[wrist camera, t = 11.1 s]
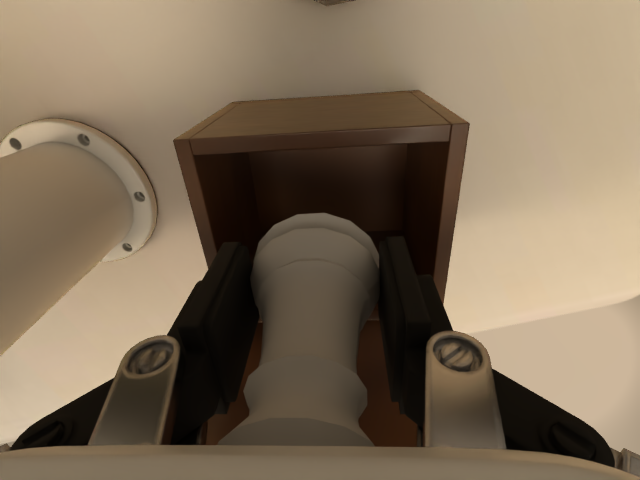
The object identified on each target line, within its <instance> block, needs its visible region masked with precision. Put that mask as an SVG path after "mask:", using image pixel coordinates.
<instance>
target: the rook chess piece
mask: <svg viewBox="0 0 640 480" xmlns="http://www.w3.org/2000/svg"><path fill="white" fill-rule="evenodd" d="M250 282H251V288H252V293H253V297H254V301H255V305H256V306H257V307H258V310H259V315H260V318H261V319H262V321H263V333H262V348H261V358H260V362H259V367H258V368H257V369H256V370H255V371H254V372H253V373H251V374H250V375H249V376H248V379H247V382H246V385H245V388H244V391H243V392H244V395H245V399H246V402H247V406H248V408H249V409H250V410H249V417H247V418H246V419H245V420H244V421H243V422H242V423H240V424H239V425H238V426H237V427H236V428H234V429H233V430H232V431H231V432H230V433H228V434H227V435H226V436H225V437H224V438H223V439H221V440H220V441H219V442H218V445H259V446H366V447H375V446H374V444H373V443H372V442H371V440H370V439H369V438H368V437H367V436H366V434H365V433H364V432H363V431H362V430H361V428H360V427H359V423H358V419H359V417H360V416H361V414H362V413H363V411H364V410H365V408H366V407H367V389H366V387H365V386H364V384H363V383H362V381H361V380H360V378H359V377H358V375H357V367H356V366H357V356H358V347H359V338H360V331H361V330H362V329H363V327H364V325H365V323H366V321H367V319H368V318H369V317H370V315H371V313H372V311H373V309H374V307H375V306H376V304H377V302H378V300H379V296H380V270H379V254H378V252H377V250H376V248H375V246H374V244H373V242H372V240H371V238H370V236H369V235H367V234H366V233H365V232H364V231H362V230H361V229H360V228H359V227H357V226H356V225H355V224H354V223H352V222H351V221H349V220H346V219H343V218H340V217H336V216H333V215H330V214H327V213H313V214H297V215H295V216H293V217H290V218H288V219H286V220H284V221H282V222H279V223H277V224H275V225H274V226H273V227H272V228H271V229H270V230H269V231H268V232H267V233H266V235H265V236H264V237H263V238H262V239H261V240H260V241H259V244H258V247H257V251H256V255H255V258H254V265H253V268H252V272H251V276H250Z"/></svg>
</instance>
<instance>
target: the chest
mask: <svg viewBox="0 0 640 480" xmlns="http://www.w3.org/2000/svg"><path fill="white" fill-rule="evenodd" d="M469 125H470V124H469V123H468V122H467V121H465V120H464V119H462V118H461V117H459V116H458V115H456V114H455V113H453V112H452V111H450V110H449V109H447V108H446V107H444V106H443V105H441V104H440V103H438V102H437V101H435V100H434V99H432V98H431V97H429V96H428V95H426V94H425V93H423V92H422V91H420V90H414V91H399V92H383V93H367V94H351V95H336V96H320V97H304V98H289V99H273V100H257V101H241V102H232V103H230V104H229V105H227V106H226V107H224V108H223V109H221V110H219V111H218V112H216V113H215V114H213V115H212V116H210V117H208V118H207V119H205V120H204V121H202V122H201V123H199V124H198V125H196V126H194V127H193V128H191V129H190V130H188V131H187V132H185V133H183V134H182V135H180V136H179V137H177V138H176V139H174V140H173V142H174V146H175V149H176V153H177V157H178V160H179V164H180V167H181V171H182V175H183V178H184V182H185V186H186V189H187V193H188V197H189V200H190V204H191V207H192V211H193V215H194V218H195V222H196V226H197V229H198V233H199V237H200V240H201V244H202V247H203V251H204V255H205V258H206V262H207V266H208V269H209V267H210V266H211V264H212V262H213V260H214V258H215V256H216V255H217V253H218V251H219V249H220V247H221V246H222V244H223V243H224V242H241V243H242V245H243V246H247V247H248V250H249V255H250V260H251V265H252V268H253V265H254V258H255V255H256V251H257V247H258V244H259V241H260V240H261V239H262V238H263V237H264V236H265V235H266V233H267V232H268V231H269V230H270V229H271V228H272V227H273V226H274V225H275V224H277V223H279V222H282V221H284V220H286V219H288V218H290V217H293V216H295V215H297V214H313V213H327V214H330V215H333V216H336V217H340V218H343V219H346V220H349V221H351V222H352V223H354V224H355V225H356V226H357V227H359V228H360V229H361V230H362V231H364V232H365V233H366V234H367V235H369V236H370V238H371V240H372V242H373V244H374V246H375V248H376V250H377V252H378V254H379V244H380V241H385V240H386V237H394V236H403V237H404V239H405V242H406V246H407V249H408V252H409V255H410V258H411V261H412V264H413V267H414V270H415V273H416V275H431V276H432V278H433V280H434V283H435V285H436V288H437V291H438V293H439V296H440V298H441V301H442V303H444V296H445V289H446V282H447V275H448V268H449V262H450V255H451V248H452V241H453V234H454V227H455V220H456V214H457V207H458V200H459V193H460V186H461V179H462V173H463V166H464V159H465V152H466V145H467V138H468V131H469ZM367 320H379V314H378V302H377V304H376V306H375V307H374V309H373V311H372V313H371V315H370V317H369V318H368V319H367ZM258 322H263V321H262V319H261V318H260V316H259V320H258Z"/></svg>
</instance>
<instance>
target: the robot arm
mask: <svg viewBox="0 0 640 480" xmlns="http://www.w3.org/2000/svg"><path fill="white" fill-rule="evenodd" d="M156 218H157V205H156V199H155V195H154V192H153V188H152V186H151V184H150V182H149V180H148V178H147V176H146V174H145V173H144V171H143V170H142V168H141V167H140V165H139V164H138V163H137V161H136V160H135V159H134V158H133V157H132V156H131V155H130V154H129V153H128V152H127V151H126V150H125V149H124V148H123V147H122V146H121V145H119V144H118V143H117V142H116V141H114V140H113V139H112V138H110V137H108V136H107V135H105V134H103V133H102V132H100V131H98V130H97V129H94V128H92V127H89V126H87V125H85V124H82V123H79V122H75V121H70V120H66V119H50V118H48V119H43V120H37V121H33V122H30V123H27V124H24V125H20V126H19V127H17V128H16V129H14V130H12V131H11V132H9V133H8V135H7V136H6V137H5V138H4V139H3V140H2V142H1V144H0V356H1V355H2V354H3V353H4V352H5V351H6V350H7V349H8V348H9V347H11V346H12V345H13V344H14V343H15V342H16V341H17V340H18V339H19V338H20V337H21V336H22V335H23V334H24V333H25V332H26V331H27V330H28V329H29V328H30V327H32V326H33V325H34V324H35V323H36V322H37V321H38V320H39V319H40V318H41V317H42V316H43V315H44V314H45V313H46V312H47V311H48V310H49V309H50V308H51V307H52V306H54V305H55V304H56V303H57V302H58V301H59V300H60V299H61V298H62V297H63V296H64V295H65V294H66V293H67V292H68V291H69V290H70V289H71V288H72V287H73V286H75V285H76V284H77V283H78V282H79V281H80V280H81V279H82V278H83V277H84V276H85V275H86V274H87V273H88V272H89V271H90V270H91V269H92V268H93V267H94V266H96V265H97V264H98V263H99V262H109V261H117V260H120V259H123V258H126V257H128V256H130V255H132V254H134V253H135V252H137V251H138V250H139V249H140V248H141V247H142V246H143V245H144V244H145V243H146V242H147V240H148V239H149V238H150V236H151V235H152V232H153V230H154V228H155V225H156ZM379 270H380V296H379V300H378V314H379V321H380V328H381V335H382V342H383V349H384V356H385V363H386V369H387V376H388V383H389V390H390V397H391V401H392V402H398V404H399V410H400V414H405V415H406V416H407V417H408V418H409V419H411V420H412V421H413V422H415V423H416V424H417V426H416V447H366V446H259V445H206V438H207V429H208V419H210V418H211V417H212V416H214V414H227V412H228V409H229V405H230V402H235V401H236V399H237V396H238V393H239V389H240V385H241V382H242V378H243V374H244V371H245V367H246V364H247V360H248V356H249V353H250V349H251V346H252V342H253V338H254V335H255V331H256V328H257V324H258V320H259V316H260V315H259V310H258V307H257V306H256V305H255V301H254V297H253V293H252V288H251V282H250V276H251V272H252V265H251V260H250V255H249V250H248V247H247V246H243V245H242V243H241V242H224V243H223V244H222V246H221V247H220V249H219V251H218V253H217V255H216V256H215V258H214V260H213V262H212V264H211V266H210V267H209V269H208V271H207V273H206V275H205V276H204V278H203V280H202V281H199V282H197V284H196V285H195V287H194V289H193V290H192V292H191V294H190V296H189V297H188V299H187V301H186V303H185V304H184V306H183V308H182V310H181V311H180V313H179V315H178V317H177V318H176V320H175V322H174V324H173V325H172V327H171V329H170V331H169V332H168V334H167V336H166V335H162V336H154V337H151V338H147V339H145V340H143V341H141V342H139V343H138V344H136V345H135V346H133V347H132V348H131V349H130V350H129V351H128V352H127V353H126V354H125V356H124V357H123V359H122V361H121V363H120V365H119V368H118V370H117V373H116V375H115V378H113V379H111V380H109V381H108V382H106V383H104V384H102V385H100V386H99V387H97V388H95V389H93V390H92V391H90V392H88V393H86V394H85V395H83V396H81V397H79V398H77V399H76V400H74V401H72V402H70V403H69V404H67V405H65V406H63V407H62V408H60V409H58V410H56V411H55V412H53V413H51V414H49V415H47V416H46V417H44V418H42V419H40V420H39V421H37V422H36V423H34V424H33V425H31V426H30V427H29V428H28V429H27V430H26V431H25V432H23V433H22V434H21V435H20V436H19V438H18V439H17V440H16V441H15V443H14V444H13V445H12V447H9V446H8V444H7V443H6V444H4V445H2V446H0V480H640V455H638V454H635V453H633V452H631V451H629V450H627V449H625V448H624V449H623V450H622V451H621V452H618V451H616V450H614V449H612V448H610V447H609V446H608V444H607V443H606V441H605V440H604V438H603V437H602V436H601V435H600V434H599V433H598V432H597V431H596V430H595V429H594V428H592V427H591V426H589V425H588V424H586V423H585V422H584V421H582V420H580V419H579V418H577V417H575V416H573V415H572V414H570V413H568V412H566V411H565V410H563V409H561V408H560V407H558V406H556V405H555V404H553V403H551V402H549V401H548V400H546V399H544V398H542V397H541V396H539V395H537V394H535V393H534V392H532V391H530V390H528V389H527V388H525V387H523V386H522V385H520V384H518V383H516V382H515V381H513V380H511V379H510V378H508V377H506V376H504V375H503V374H501V373H499V372H497V371H496V370H494V369H492V367H491V362H490V357H489V354H488V352H487V350H486V348H485V347H484V346H483V345H482V344H481V343H480V342H479V341H478V340H476V339H475V338H474V337H471V336H469V335H467V334H465V333H461V332H457V331H453V329H452V326H451V324H450V321H449V319H448V316H447V314H446V311H445V309H444V306H443V303H442V301H441V298H440V296H439V293H438V291H437V288H436V285H435V283H434V280H433V278H432V276H431V275H416V273H415V270H414V267H413V264H412V261H411V258H410V255H409V252H408V249H407V246H406V242H405V239H404V237H403V236H394V237H386V240H385V241H380V244H379Z"/></svg>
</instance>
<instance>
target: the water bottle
mask: <svg viewBox="0 0 640 480" xmlns="http://www.w3.org/2000/svg"><path fill="white" fill-rule="evenodd" d="M314 1H317V2H319V3H321V4H323V5H325V6H329V5H334V4H339V3H344V2H349V1H354V0H314Z"/></svg>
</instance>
